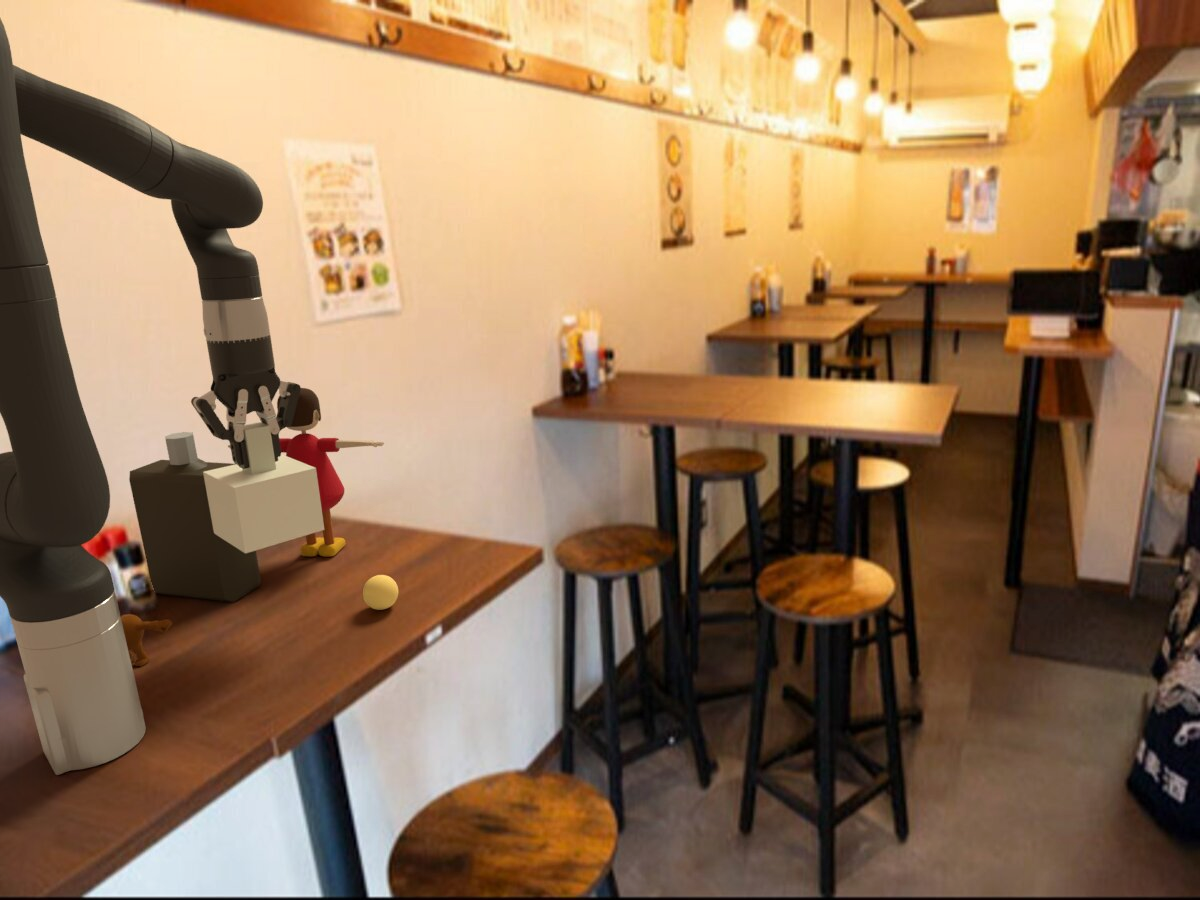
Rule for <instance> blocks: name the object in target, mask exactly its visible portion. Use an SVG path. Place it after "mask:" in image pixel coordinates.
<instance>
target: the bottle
mask: <svg viewBox="0 0 1200 900" xmlns="http://www.w3.org/2000/svg"><path fill="white" fill-rule="evenodd" d="M164 438H165V444H166V448H167V449H166V450H167V455H168V459H160V460H159V459H158V460H156V461H154V462H151V463H149V464H146V465H142V466H140V467H138V468H135V469H133V470H130V471H129V479H128V480H129V485H130V490H131V494H132V495H131V496H132V499H133V504H134V509H135V513H136V518H137V522H138V527H139V532H140V537H141V542H142V547H143V551H144V555H145V561H146V566H147V570H148V574H149V579H151V580H150V583H151V582H152V585H153V588H154V591H155V592H156V593H155V592H154V591H153V592H154V593H155V594H157V593H159V595H166V594H167V595H168V596H175V597H184V598H195V599H204V600H212V601H221V602H231V603H235V602H237V601H238V600H239V599H241V598H243V597H244V596H246V595H247V594H249V593H250V592H252V591H253V590H255V589H257V588H258V587H260V586H261V573H260V567H259V560H258V555H257V554H258V553H257V550H255V551H252V552H249V553H244V552H242V551H241V550H239V549H238V548H236V547H234V546H233V545H231V544H230V543H228V542H227V541H225V540H224V539H222V538H221V537H219V536H217V535H216V534H214V530H213V525H212V519H211V514H210V508H209V502H208V497H207V491H206V486H205V480H204V474H203V472H204V471H209V470H213V469H217V468H222V467H226V466H231V465H235V463H231V462H230V463H229V462H228V463H226V462H209V461H208V462H207V461H205V460H203V459H200V458H199V457H198V453H197V447H196V443H195V437H194V432H191V431H190V432H189V431H188V432H186V431H185V432H184V431H183V432H182V431H181V432H176V433H171V434H167V435H165V436H164ZM152 585H151V586H152Z"/></svg>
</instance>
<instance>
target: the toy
mask: <svg viewBox="0 0 1200 900" xmlns="http://www.w3.org/2000/svg"><path fill="white" fill-rule="evenodd" d="M280 400H281V396H280V395H278V398H277V402H276V408H277V410H278V408H279V404H280ZM320 405H321V404H320V400H319V398H318V396H317V394H316V393H315V391H313V390H312V389H310V388H306V387H301V390H300V393H299V397H298V401H297V405H296V409H295V413H294V417H293V421H292V425H291V426H290V427H286V428H287V429H288V430H292V431H298V432H301V433H299V434H297V435H295V436H293V437H292V438H289V437H288V438H283V437H281V438H280V437H279V441H280V447H281V454H283V453H286V454H285V456H287V457H290V458H292V459H295V460H297V461H300V462H302V463H305V464H307V465H310V466H312V467H315V468H316V472H317V479H318V486H319V494H320V501H321V508H322V515H323V523H324V530H322V533H323V535H322V536H323V537H317V536H316V535H317V534H316V532H315V533H312V534H309V535H305V541H306V542H305V543H303V544H302V545H301V546H300V549H299V550H300V551H299V552H300V554H301V555H302V557H317V555H319V556H321V557H325V558H326V557H334V556H336V555H337V554H339V552H340V551H341V550H342V549H343V548H344V547H345V545H346V540H345V539H344V538H343V537H335V536H334V529H333V522H332V515H331V509H332V508H334V507H335V506H337V505H338V503H339V502H340V501H342V499H343V498H344V496H345V487H344V484H343V483H342V481H341V479H340V477H339V475H338V473H337V471H336V469H335V467H334V465H333V464H332V461H331V459H330V458H329V456H328V453H338V452H339V451H340V449H344V448H345V449H349V448H357V447H370V446H371V447H374V448H377V447H382V446H383V445H384V444H385V443H384V442H383V441H374V440H350V439H349V440H348V439H347V440H343V439H339V438H337V437H317V436H316V435H314V434H311V433H308V432H307V431H310V430H312V429H314V428H315V427H316V426H317V425H318V424H319V422H321V420H322V414H321V406H320ZM227 448H229V449H230V450H231V447H230V444H229V445H227Z"/></svg>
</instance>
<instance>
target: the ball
mask: <svg viewBox="0 0 1200 900" xmlns="http://www.w3.org/2000/svg"><path fill="white" fill-rule="evenodd" d="M362 589H363V590H362V598H363V601H364V602H365V604H366V605H367V606H368V607H369V608H371V609H373V610H377V611H379V610H381V611H382V610H386V609H389V608H390V607H392V606H393V605H394V604H395V603H396V602H397V600H398V597H399V586H398V584H397V582H396V581H395V580H394V579H393V578H392V577H390V576H389V575H386V574H377V575H375V576H372V577H370V578H369V579H368V580H367V581H366V582H365V584H364V586H363V588H362Z"/></svg>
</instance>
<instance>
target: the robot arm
mask: <svg viewBox="0 0 1200 900" xmlns="http://www.w3.org/2000/svg"><path fill="white" fill-rule="evenodd" d="M22 136H23V137H26V138H28V139H32V140H34V141H35V142H38V143H40V144H42V145H45V146H47V147H49V148H52V150H53V149H54V150H56V151H58V152H60V153H62V154H64V155H67V156H68V157H70V158H73V159H74V160H77V161H79V162H81V163H83V164H85V165H87V166H89V167H90V168H93V169H95V170H97V171H99V172H100V173H103V174H104V175H107V176H109V177H110V178H112V179H114V180H116V181H118V182H120V183H122V184H123V185H126V186H128V187H130V188H131V189H134V190H135V191H137V192H140V193H142V194H143V195H146V196H149V197H152V198H154V199H155V198H156V199H158V200H159V199H160V200H170V204H171V211H172V214H173V217H174V220H175V222H176V224H177V227H178V229H179V232H180V234H181V236H182V238H183V241H184V244H185V245H186V248H187V250H188V252H189V254H190V257H191V258H192V260H193V262H194V264H195V268H196V272H197V279H198V286H199V291H200V297H201V303H202V323H203V334H204V336H205V341H206V346H207V352H208V359H209V364H210V371H211V375H212V383H211V385H210V391H207V392H206V393H205V394H203V395H201V396H199V397H198V396H194V397H192V398H191V400H190V402H191V405H192V406H193V408H194V410H195V411H196V412H197V414H198V415H199V417H200V418H201V420H202V421H203V423H204V424H205V425H206V428H207V429H208V430H209V431H210V433H211V435H212V436H213V437H215V438H217V439H220V440H222V441H228V442H229V445H230V447H231V449H230V452H231V453H230V454H231V456H232V457H231V459H232V461H233V464H237V465H238V466H239V467H240V468H242V469H246V468H249V460H248V454H247V448H246V441H244V440H243V439H244V425H246V423H247V415H248V414H251V413H253V412H255V413H256V415H257V417H258V419H259V420H260V422H261V423H264V424H267V425H269V426H270V431H271V438H272V444H273V451H274V457H275V462H277V461H278V457H280V456H281V454H282V453H281V447H280V441H279V438H280V433H281V431H282V430H283V429H285V428H287V427H290V426H291V425H292V421H293V417H294V413H295V409H296V405H297V401H298V397H299V393H300V390H301V388H302V387H301V385H300V384H298V383H296V382H291V381H287V382H286V381H283V380H281V379H280V376H278V374H277V372H276V365H275V358H274V351H273V344H272V337H271V332H270V325H269V317H268V313H267V308H266V306H265V301H264V299H263V298H264V297H263V292H262V285H261V278H260V272H259V271H260V270H259V265H258V262H257V259H256V257H255V255H254V254H253V253H252V252H251V251H249V250H247V249H243V248H239V247H237V246H236V245H235V244H234V242H233V241H232V238H231V237H230V235H229V233H228V229H229V230H232V229H242V228H245V227H248V226H251V225H253V224H255V222H256V221H258V219H259V218H260V216H261V214H262V211H263V209H264V208H263V207H264V200H263V195H262V192H261V190H260V187H259V186H258V184H257V183H256V181H255V180H254V179H253V178H252V177H251V176H250V174H249V173H247V172H246V171H244V169H242V168H240V167H239V166H238V165H236V164H233V163H232V162H229V161H227V160H225V159H223V158H221V157H218V156H216V155H213V154H211V153H208V152H206V151H204V150H201V149H198V148H195V147H192V146H188V145H186V144H183V143H180V142H179V141H176V140H175V139H174V138H172V137H171V136H169V135H168V134H166V133H164V132H163V131H161V130H159V129H158V128H157V127H154V126H153V125H152V124H149V123H148V122H146V121H145V120H143V119H141V118H140V117H138V116H137V115H135V114H132V113H131V112H129V111H127V110H126V109H123V108H121V107H119V106H117V105H114V104H113V103H111V102H107V101H105V100H103V99H99V98H97V97H94V96H92V95H90V94H86V93H83V92H81V91H79V90H75V89H73V88H69V87H67V86H64V85H61V84H58V83H56V82H54V81H51V80H48V79H46V78H43V77H41V76H38V75H36V74H33V73H32V72H30V71H27V70H25V69H23V68H20V67H19V66H17V65H15V64H13V57H12V51H11V46H10V41H9V37H8V34H7V31H6V28H5V25H4V23H3V21H2V19H1V17H0V416H1V418H2V420H3V423H4V426H5V429H6V432H7V435H8V438H9V439H8V440H9V443H10V448H11V450H12V451H6V452H1V453H0V598H1V599H2V600H3V601H4V603H5V605H6V607H7V610H8V614H9V617H10V621H11V625H12V628H13V633H14V636H15V639H16V643H17V646H18V647H17V648H18V651H19V655H20V659H21V663H22V666H23V669H24V674H23V681H24V684H25V685H24V686H25V688H26V692H27V696H28V700H29V702H30V707H31V710H32V714H33V718H34V722H35V725H36V729H37V731H38V736H39V739H40V744H41V749H42V751H43V753H44V755H45V757H46V759H47V761H48V763H49V765H50V767H51V769H52V771H53V773H54V774H55V775H56V776H59V775H61V774H64V773H67V772H69V771H77V770H85V769H89V768H93V767H97V766H99V765H102V764H103V765H104V764H105V763H108V762H110V761H113V760H115V759H117V758H119V757H121V756H122V755H125V753H128V752H129V751H131V750H132V749H133V748H135V746H137V744H139V743H140V741H141V740H142V739H143V737H144V735H145V733H146V729H147V727H146V724H145V723H146V722H145V719H144V712H143V709H142V705H141V700H140V696H139V692H138V687H137V683H136V678H135V674H134V669H133V665H132V663H131V660H130V656H129V652H128V647H127V643H126V638H125V634H124V630H123V625H122V621H121V617H120V616H121V613H120V609H119V604H118V599H117V596H116V591H115V585H114V582H113V581H114V580H113V577H112V573H111V571H110V569H109V567H108V566H107V565H106V563H104V562H103V561H102V560H100V559H99V558H97V557H96V556H94V555H93V554H91V553H90V552H89V551H88V550H87V549H86V548H85V547H84V546H83V545H84V544H86V543H88V542H90V541H91V540H93V539H94V538H95V537H96V536H97V535H98V534H99V533H100V532H101V530H102V529H103V527H104V526H105V523H106V521H107V519H108V516H109V512H110V508H111V491H110V490H111V489H110V483H109V481H108V476H107V473H106V469H105V466H104V463H103V461H102V460H103V459H102V458H101V455H100V451H99V450H98V447H97V444H96V441H95V439H94V436H93V434H92V430H91V427H90V424H89V422H88V419H87V417H86V413H85V411H84V406H83V403H82V401H81V397H80V393H79V390H78V387H77V382H76V379H75V374H74V373H75V372H74V370H73V365H72V363H71V362H72V361H71V358H70V354H69V351H68V347H67V343H66V339H65V334H64V331H63V327H62V326H63V325H62V321H61V316H60V311H59V310H60V309H59V305H58V300H57V299H58V298H57V294H56V290H55V286H54V281H53V277H52V274H51V273H52V272H51V268H50V264H49V259H48V256H47V252H46V249H45V246H44V242H43V238H42V234H41V229H40V226H39V221H38V220H39V219H38V216H37V215H38V214H37V211H36V205H35V201H34V196H33V191H32V187H31V182H30V179H29V178H30V177H29V173H28V169H27V164H26V160H25V159H26V158H25V153H24V148H23V141H22ZM278 391H279V392H278ZM277 392H278V395H279V396H281V400H280V404H279V408H278V409H277V413H276V411H275V408H274V405H273V400H274V398H275V396H276V394H277ZM216 399H217V401H219V402H220V403H221V404H222V405H223V406H224V407H225V408H226V421H227V422H226V423H227V425H226V427H227V428H226V427H225V426H224V424H223V422H222V421H221V420H220V418H219V417H218V415H217V413H216V412H215V410H216V409H217V405H216Z"/></svg>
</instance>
